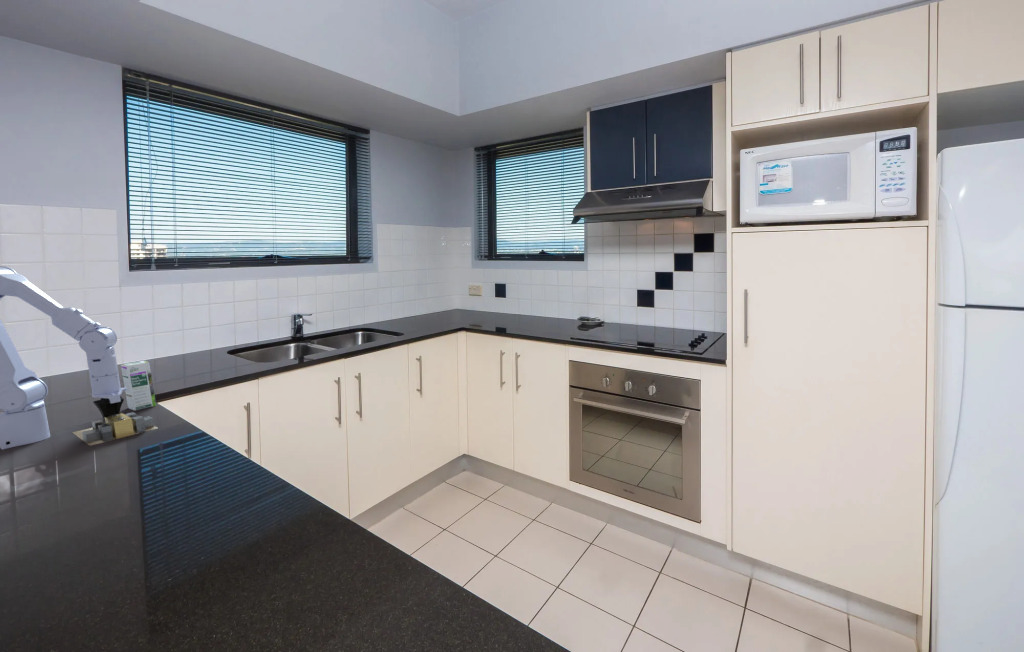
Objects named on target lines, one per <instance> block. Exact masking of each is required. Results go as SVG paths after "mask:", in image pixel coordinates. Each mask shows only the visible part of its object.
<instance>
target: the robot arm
mask: <svg viewBox="0 0 1024 652" xmlns="http://www.w3.org/2000/svg"><path fill="white" fill-rule="evenodd" d="M6 296H7V297H15V298H18V299H21V300H22V301H23V302H26V303H27V304H29V305H30V306H33V307H34V308H35V309H37V310H38V311H40V312H42V313H44V314H46V315H47V316H49V317H50V318H51V319H50V320H51V324H52V325H53V326H54V327H56V328H58V329H59V330H61V331H62V332H64V333H65V334H67V335H68V336H69V337H71V338H73V339H74V340H75V341H77V342H78V345H79V347H80V348H81V350H83V351H84V352H85V354H86V355H85V356H86V362H87V368H88V372H89V380H90V386H91V390H92V391H91V392H92V393H91V397H92V398H96V399H98V400H94V401H92V403H93V404H94V405H95V407H96V408H97V409H98V410H99V412H100V414H101V416H102V420H103V421H104V424H106V422H105V417H107V416H112V415H115V414H121V408H122V404H123V402H124V400H125V399H124V398H123V397H122V396H121V395H122V393H124V392H125V391H127V388H125V387H121V381H120V374H119V368H118V364H117V363H118V362H117V355H116V351H115V345H116V343H117V341H118V337H117V334H116V333H115V331H114V330H112V328H111V327H108V326H102V324H101V323H100V322H95V321H94V320H92V319H91V318H90V317H88V316H86V315H85V314H84V311H83V310H82V309H81V308H75V307H69V306H68V307H64V306H62V305H61V304H60V303H58V302H57V301H56V300H54V299H53V298H52V297H50V296H49V294H47V293H45V292H44V291H43V290H41V289H40V288H38V287H37V286H36V285H34V284H33V283H32V282H30V280H29V279H27V277H26V276H24V275H23V274H20V273H18V272H17V271H15V269H13V268H11V267H8V266H2V265H1V266H0V301H1V300H2V299H3V298H4V297H6ZM48 394H49V388H48V385H47V384H46V382H45V381H43V380H42V379H41V378H39V377H38V375H37V374H36V372H35V371H33V370H32V369H29V368H28V367H26V366H25V364H24V361H23V360H22V358H21V356H20V353H19V352H18V351H17V348H16V347H15V344H14V342H13V341H12V339H11V337H10V335H9V333H8V332H7V329H6V327H5V326H4V324H3V322H2V320H1V318H0V410H2V411H3V412H0V449H1V450H5V449H6V450H7V449H10V448H14V447H19V446H23V445H30V444H34V443H37V442H41V441H43V440H44V441H45V440H47V439H48V438H50V437H51V432H50V426H49V422H48V415H47V411H46V405H45V398H46V397H47V396H48Z"/></svg>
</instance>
